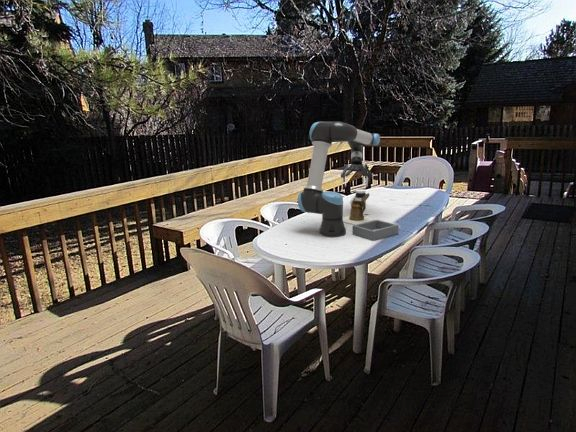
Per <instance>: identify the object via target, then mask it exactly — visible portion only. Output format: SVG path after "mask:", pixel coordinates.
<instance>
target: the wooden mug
mask: <svg viewBox="0 0 576 432" xmlns="http://www.w3.org/2000/svg"><path fill="white" fill-rule="evenodd" d="M369 197H370V192H368V193H366V195H364V196H363V198H362V199H361V201H352V204H350V206H351V209H350V214H349V216H350V218H349V219H350V220H354V221H360V220H363V219H364V217H365V216H364V213H365V210H366V207H367V203H366V204H365V201H366V202H367V200H368V199H369Z"/></svg>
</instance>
